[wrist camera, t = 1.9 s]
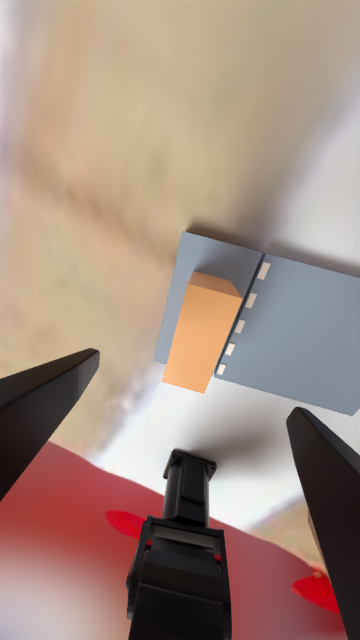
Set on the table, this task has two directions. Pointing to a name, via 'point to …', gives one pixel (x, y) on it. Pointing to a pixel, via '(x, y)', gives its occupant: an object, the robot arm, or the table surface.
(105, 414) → the table surface
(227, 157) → the table surface
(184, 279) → the stub
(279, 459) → the table surface
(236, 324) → the ticket board
